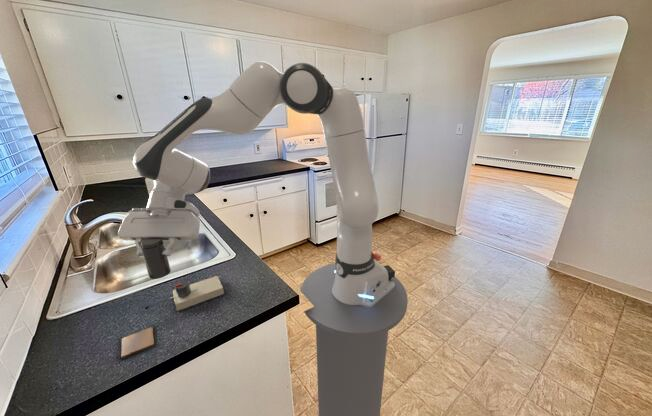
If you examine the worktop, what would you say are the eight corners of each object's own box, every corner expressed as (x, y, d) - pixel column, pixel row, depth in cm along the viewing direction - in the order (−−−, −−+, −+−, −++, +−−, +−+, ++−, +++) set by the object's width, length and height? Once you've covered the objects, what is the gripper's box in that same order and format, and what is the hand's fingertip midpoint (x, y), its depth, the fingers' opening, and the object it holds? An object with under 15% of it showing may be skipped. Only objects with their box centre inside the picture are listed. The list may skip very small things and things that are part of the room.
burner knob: (190, 287, 88) (188, 278, 86) (191, 294, 84) (189, 284, 83) (176, 292, 86) (174, 282, 84) (177, 299, 82) (175, 289, 81)
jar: (169, 265, 76) (161, 234, 73) (171, 274, 72) (163, 242, 69) (148, 271, 74) (138, 239, 70) (149, 281, 70) (139, 248, 66)
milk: (161, 211, 159) (152, 174, 150) (152, 210, 159) (143, 174, 151) (169, 207, 164) (160, 172, 156) (160, 206, 165) (151, 171, 157)
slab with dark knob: (218, 281, 95) (216, 275, 94) (224, 294, 88) (223, 287, 87) (170, 297, 87) (168, 291, 86) (173, 312, 81) (171, 305, 80)
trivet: (152, 328, 75) (152, 326, 75) (154, 345, 70) (153, 343, 70) (122, 339, 72) (121, 338, 71) (121, 358, 66) (120, 357, 66)
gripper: (120, 203, 73) (104, 253, 67) (196, 202, 73) (186, 252, 68) (135, 212, 79) (122, 259, 73) (205, 211, 79) (197, 258, 73)
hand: (153, 255), depth 70 cm, fingers closed on jar, 5 cm apart
